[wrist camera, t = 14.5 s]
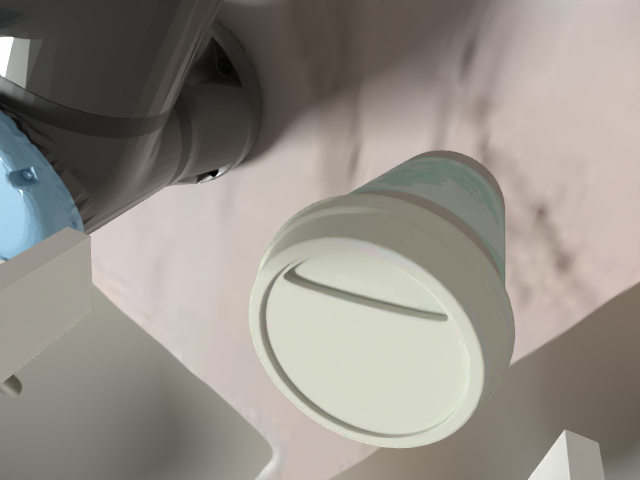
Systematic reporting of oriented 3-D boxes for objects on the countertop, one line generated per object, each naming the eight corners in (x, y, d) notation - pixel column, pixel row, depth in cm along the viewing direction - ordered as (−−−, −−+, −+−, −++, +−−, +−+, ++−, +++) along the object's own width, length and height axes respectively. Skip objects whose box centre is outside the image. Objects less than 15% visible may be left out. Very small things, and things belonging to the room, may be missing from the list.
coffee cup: (581, 203, 22) (584, 377, 12) (453, 313, 27) (383, 498, 17) (429, 81, 23) (317, 153, 13) (331, 210, 27) (196, 334, 18)
